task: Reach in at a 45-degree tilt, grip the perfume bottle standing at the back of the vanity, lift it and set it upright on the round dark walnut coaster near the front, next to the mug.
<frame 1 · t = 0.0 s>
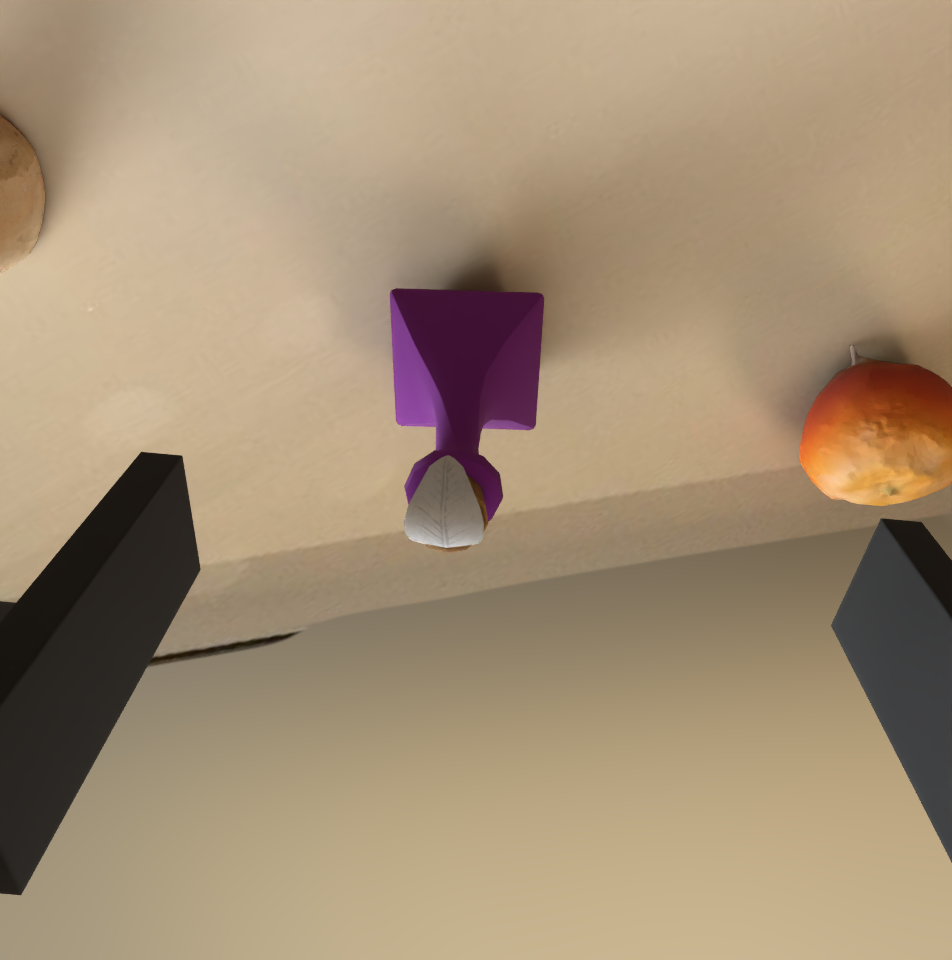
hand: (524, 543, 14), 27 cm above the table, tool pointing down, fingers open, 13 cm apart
perfume bottle: (469, 337, 41), on the table
fruit: (854, 405, 42), on the table
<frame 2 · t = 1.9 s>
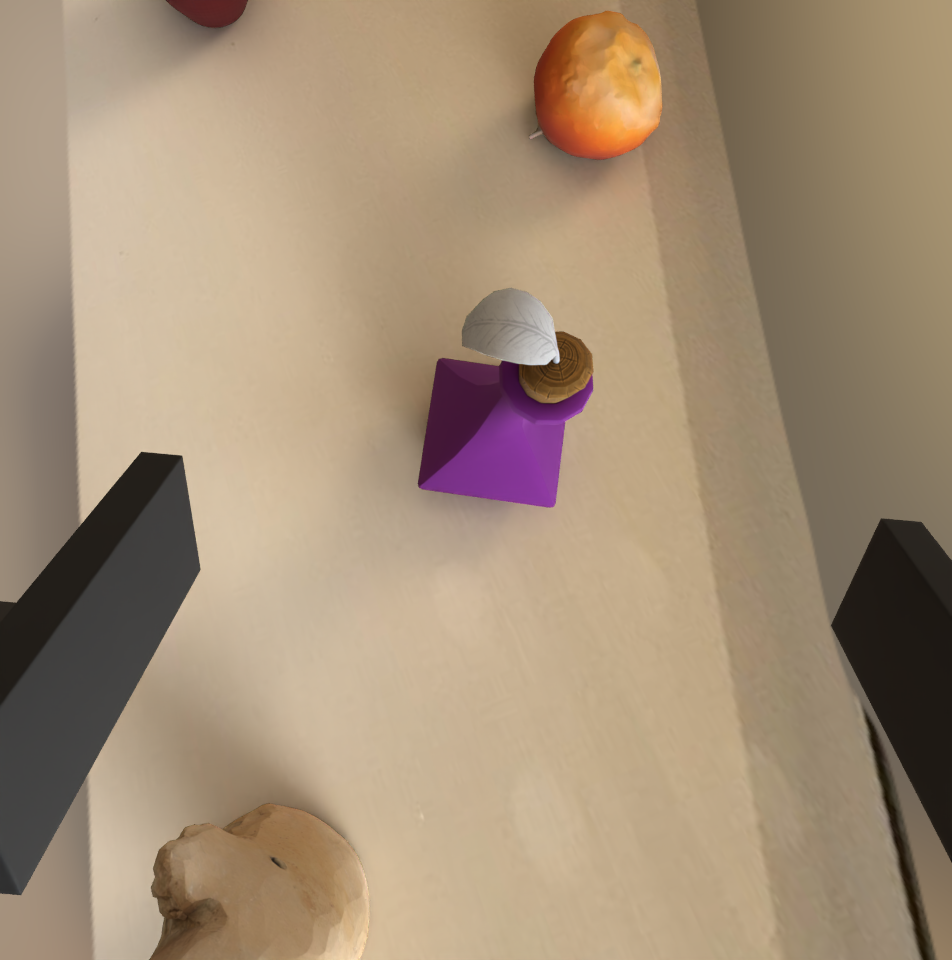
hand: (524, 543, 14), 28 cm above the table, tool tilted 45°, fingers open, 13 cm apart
figurine: (297, 889, 39), on the table
perfume bottle: (491, 446, 44), on the table
fruit: (587, 130, 48), on the table
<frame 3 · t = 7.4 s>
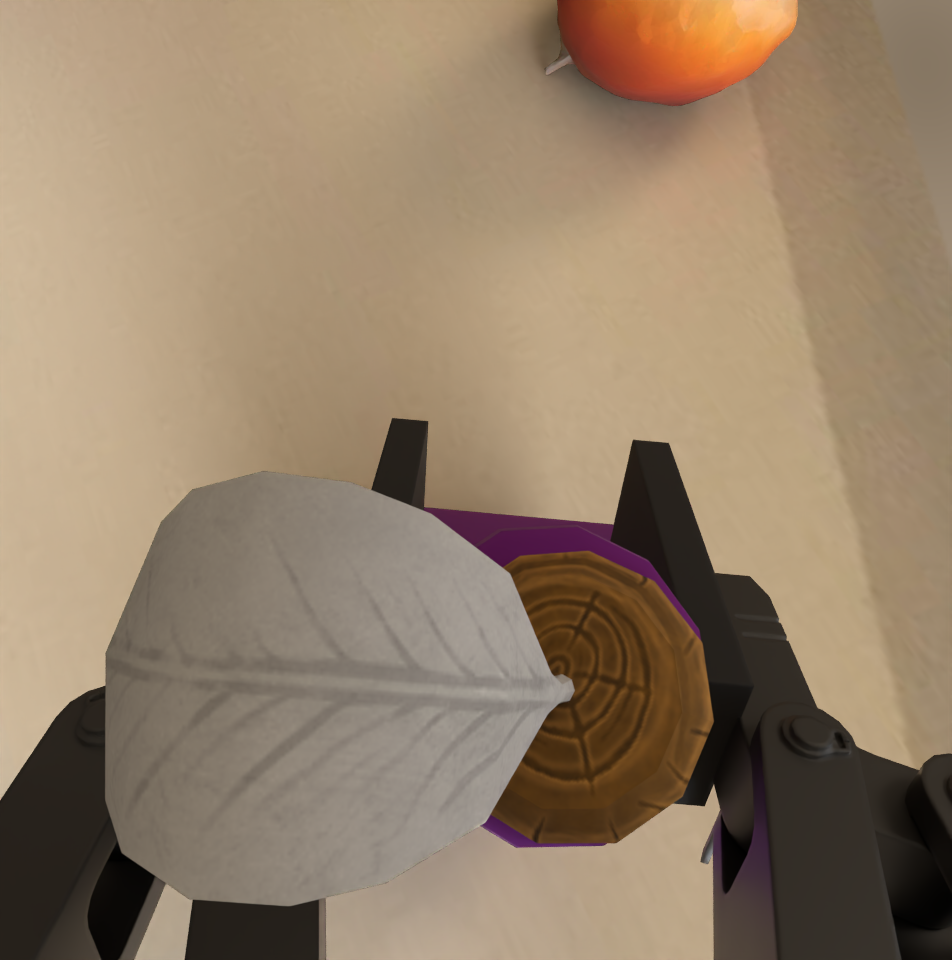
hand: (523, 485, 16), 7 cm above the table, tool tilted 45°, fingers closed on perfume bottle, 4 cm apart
perfume bottle: (494, 655, 22), on the table, touching gripper
fruit: (647, 58, 27), on the table
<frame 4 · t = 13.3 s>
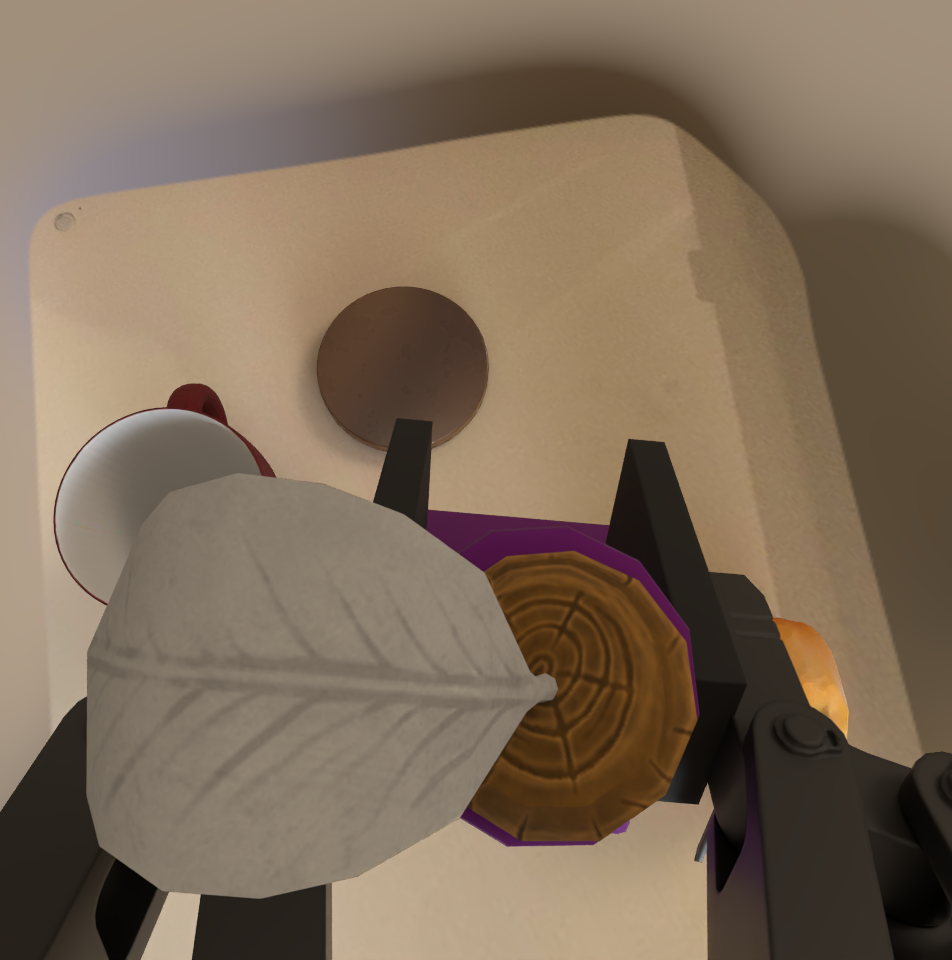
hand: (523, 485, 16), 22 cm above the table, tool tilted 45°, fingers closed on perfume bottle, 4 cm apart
perfume bottle: (500, 657, 22), point 15 cm above the table, touching gripper
fruit: (729, 699, 37), on the table
mug: (235, 519, 38), on the table
coaster: (404, 371, 40), on the table
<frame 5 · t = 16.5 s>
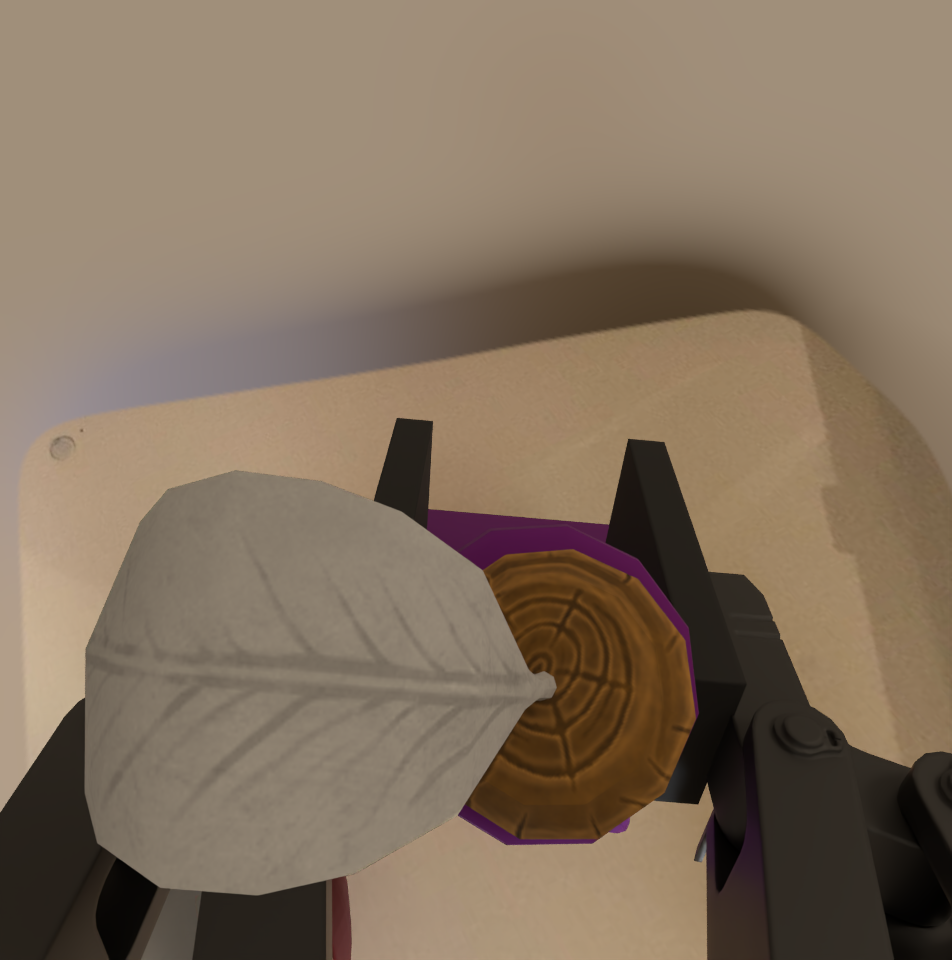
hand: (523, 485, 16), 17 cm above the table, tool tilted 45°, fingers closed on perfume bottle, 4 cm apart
perfume bottle: (500, 657, 22), point 10 cm above the table, touching gripper
mug: (272, 843, 31), on the table
when the fingers open (8 cm above the table, at t = 19.2 s): perfume bottle stays where it is, resting on coaster.
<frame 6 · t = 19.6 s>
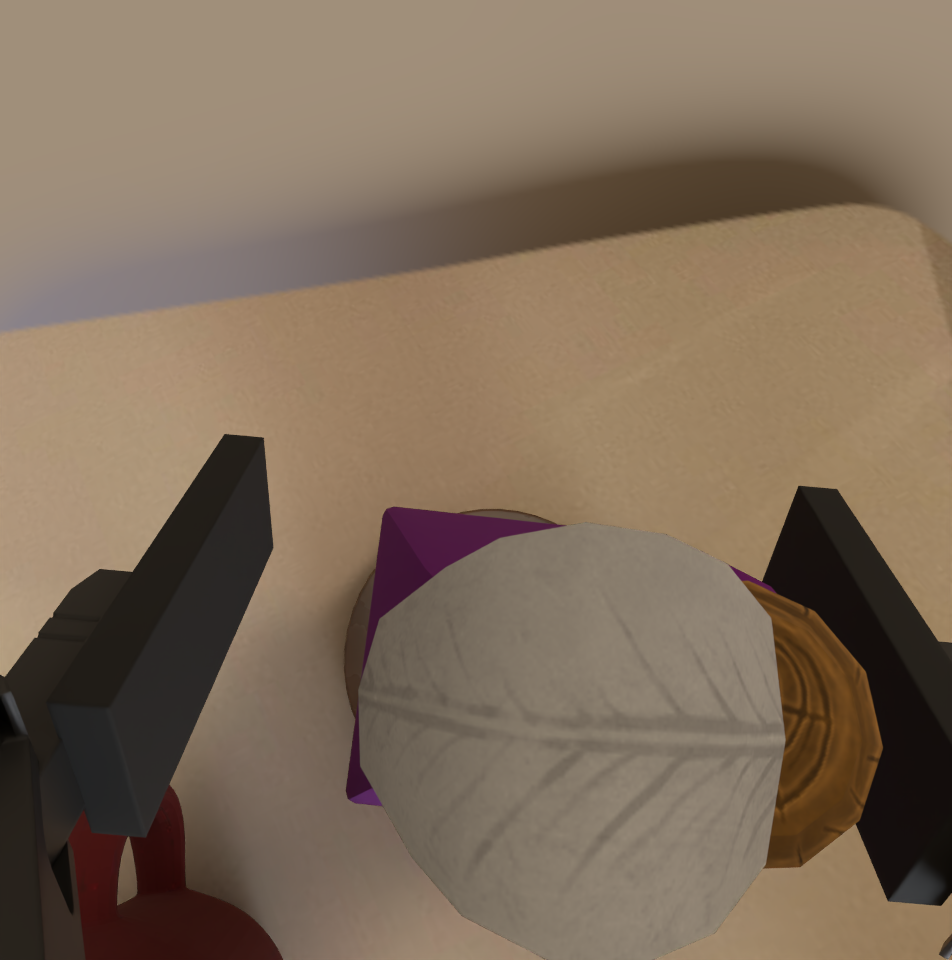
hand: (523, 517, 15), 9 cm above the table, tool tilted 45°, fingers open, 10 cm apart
perfume bottle: (501, 659, 22), point 1 cm above the table, touching coaster
mug: (198, 935, 22), on the table
coaster: (492, 655, 23), on the table
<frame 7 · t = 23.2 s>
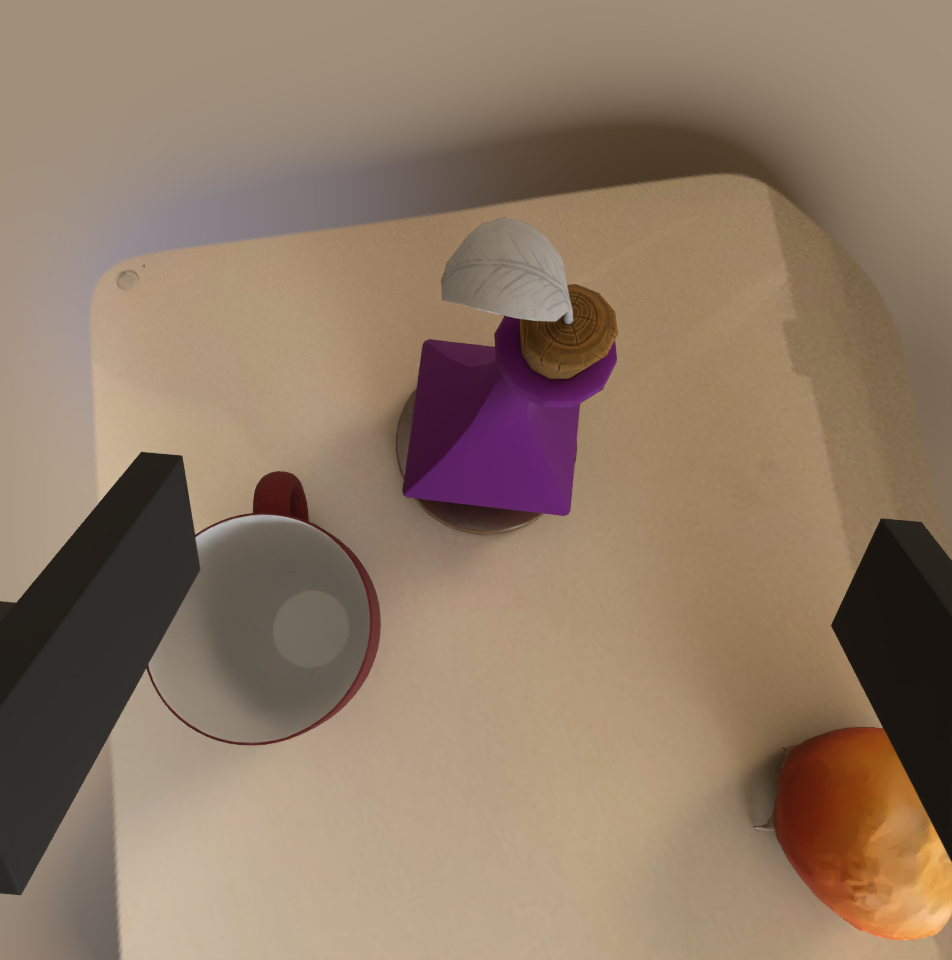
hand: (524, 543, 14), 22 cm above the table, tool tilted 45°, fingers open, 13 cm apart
perfume bottle: (491, 445, 37), point 1 cm above the table, touching coaster
fruit: (831, 805, 35), on the table
mug: (308, 603, 36), on the table
coaster: (486, 446, 38), on the table
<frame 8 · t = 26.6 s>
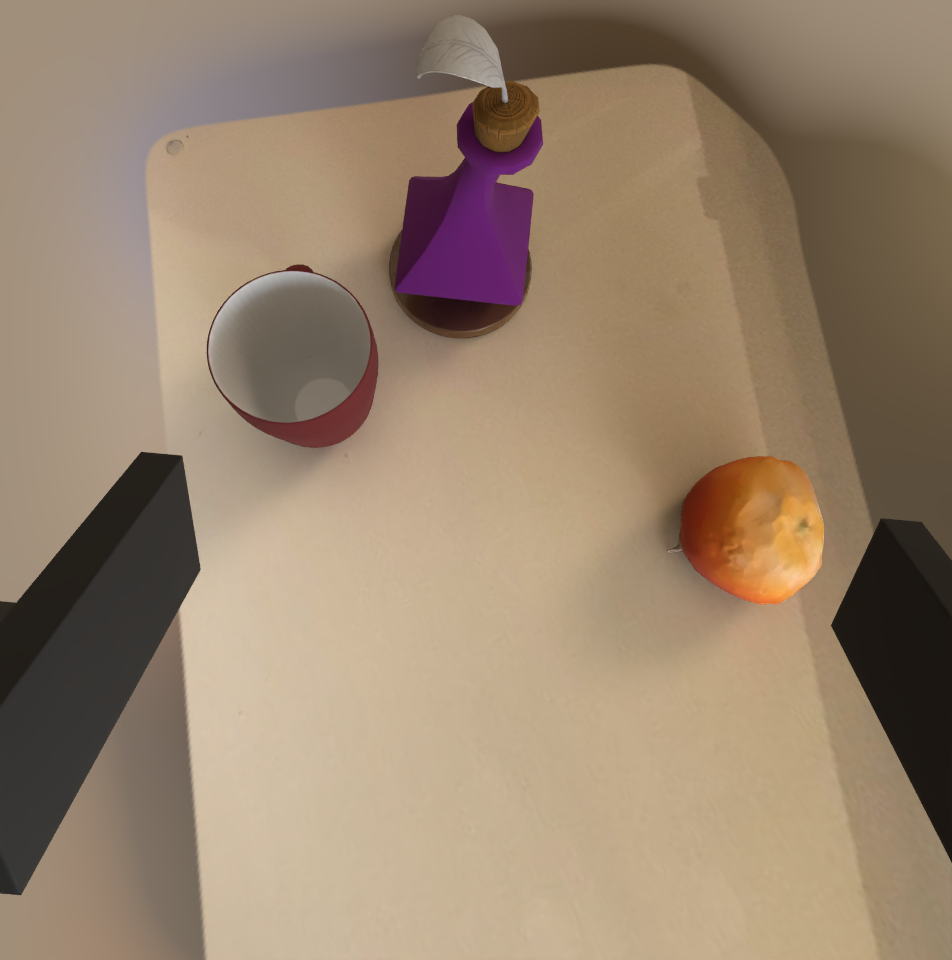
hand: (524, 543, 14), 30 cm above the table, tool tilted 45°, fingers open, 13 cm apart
perfume bottle: (464, 268, 47), point 1 cm above the table, touching coaster
fruit: (728, 537, 45), on the table
mug: (321, 390, 46), on the table
coaster: (460, 273, 48), on the table
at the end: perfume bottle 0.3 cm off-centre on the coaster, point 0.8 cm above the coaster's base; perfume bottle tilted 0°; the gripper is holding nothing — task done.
